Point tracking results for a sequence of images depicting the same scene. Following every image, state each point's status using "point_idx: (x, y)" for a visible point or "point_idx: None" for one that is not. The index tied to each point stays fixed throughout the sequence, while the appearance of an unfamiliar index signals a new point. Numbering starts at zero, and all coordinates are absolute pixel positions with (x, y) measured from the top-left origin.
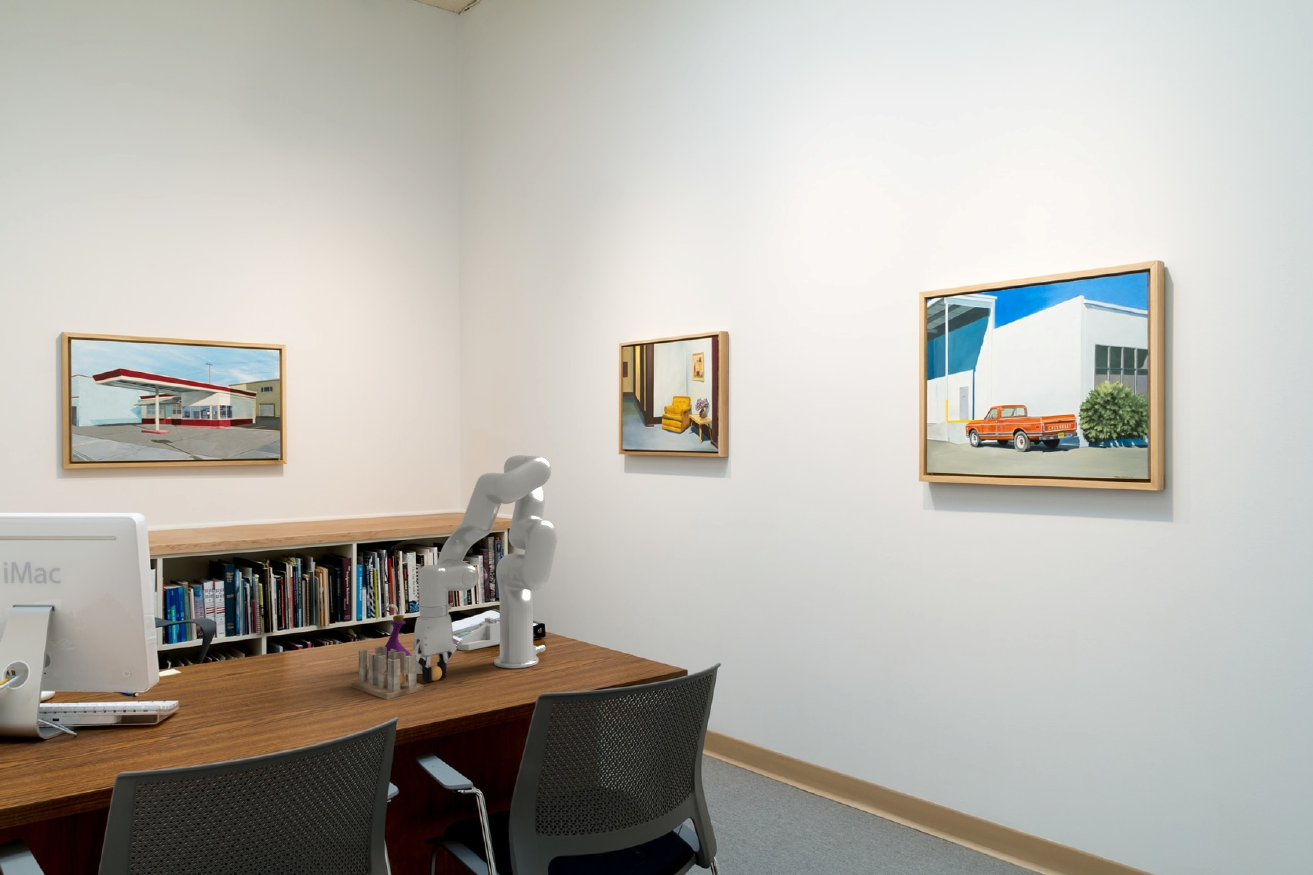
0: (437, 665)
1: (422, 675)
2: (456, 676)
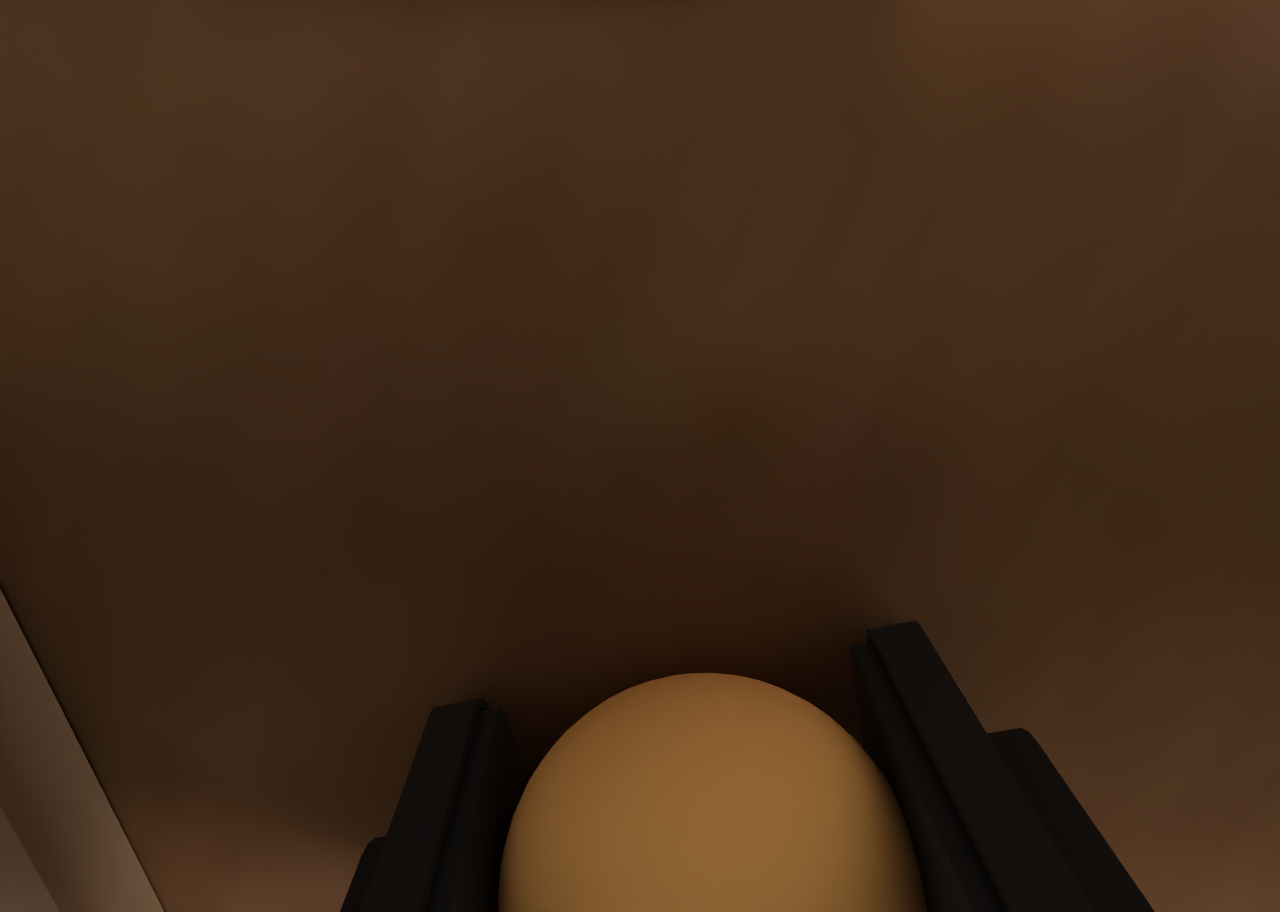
0: (945, 874)
1: (361, 873)
2: (1228, 745)
